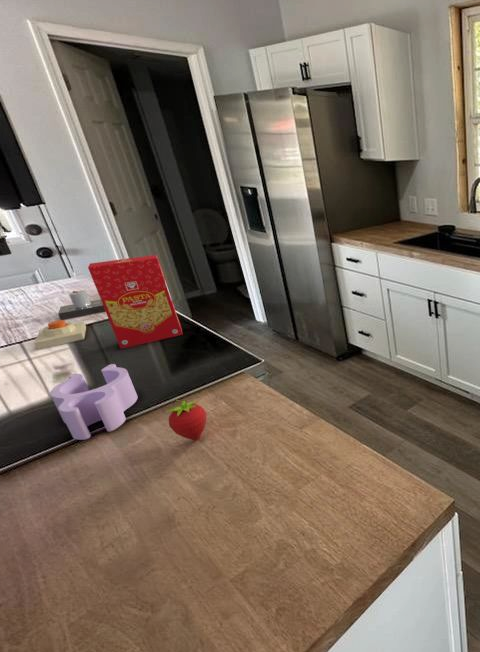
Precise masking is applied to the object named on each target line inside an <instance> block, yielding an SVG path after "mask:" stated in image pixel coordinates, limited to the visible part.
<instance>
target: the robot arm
mask: <svg viewBox="0 0 480 652" xmlns="http://www.w3.org/2000/svg"><path fill="white" fill-rule="evenodd" d="M12 232H13V228H12V226H11V225H10V222H9V220H8V219H7V217H6V215H5V213H4V211H3V210H2V208H1V207H0V257H3V256H9V255H12V251H11V249H10V247H9V244H8V243H7V242H8V241H7V239H6V238H8V235H7V233H8V234H9V233H12Z"/></svg>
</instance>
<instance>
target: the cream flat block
mask: <svg viewBox="0 0 480 652" xmlns="http://www.w3.org/2000/svg"><path fill="white" fill-rule="evenodd" d="M65 323H66V326H64V327H61V328H57V329H50V328H49V326H48V325H47V326H45V327H44V328H42V329H40V330H39V331H38V333H37V335H36V338H35V340H34V346H35V349H36V350H42V349H46V348H51V347H55V346H60V345H64V344H68V343H69V344H70V343H75V342H78V341H83V340H85V336H86V331H87V326H86V324H85V321H80V322H72V321H65Z"/></svg>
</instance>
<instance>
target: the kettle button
mask: <svg viewBox="0 0 480 652" xmlns="http://www.w3.org/2000/svg"><path fill="white" fill-rule="evenodd" d="M65 322H66V321H65V320H61V319H59V320H54V321H51V322H48V323H47V326H49V328H50V329H57V328H61V327H64V326H66V323H65Z"/></svg>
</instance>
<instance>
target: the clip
mask: <svg viewBox="0 0 480 652" xmlns="http://www.w3.org/2000/svg"><path fill="white" fill-rule="evenodd" d="M100 370H101V373H102V376H103V378H104V380H105V383H106V384H104V385H102V386H99V387H96V388H93V389H89V387H88V384H87V382H86V380H85V378H84V375H83V374H81V373H77V372H76V373H75V372H74V373H71V374H69V375H67V376H68V378H67V379H65V380H63V381H62V382H60V383H58V384H56V385H55V386H54V387H53V388H51V390H50V392H49V395H50V397H51V400H52V402H53V403H54V405H55V407H56V409H57V412H58V413H59V415H60V417H61V419H62V421H63V423H64V424H65V425H66V427H67V429H68V430H69V432H70V435H71V437H72V438H73V439H74V440H79V441H82V440H88V439H90V438H91V437H92V434H91V432H90V430H89V428H88V427H89V426H90V425H93V424H95V423H97V422H98V423H99V422H100V421H102V423H103V425H104V427H105V430H106V431H107V432H113V431H115V430H116V429H118V428H119V427H121V426H122V425H123V424H124V423H125V422H126V419H127V418H126V415H125V413H124V412H125V411H127V409H129V408H131V407H132V406H133V405H135V403H136V402H137V400H138V394H137V391H136V389H135V387H134V384H133V382H132V379H131V377H130V374H129V372H128V370H127V368H124V367H118V366H117V365H116V363H111V364H108V365H106V366H105V367H103V368H102V369H100Z"/></svg>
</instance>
